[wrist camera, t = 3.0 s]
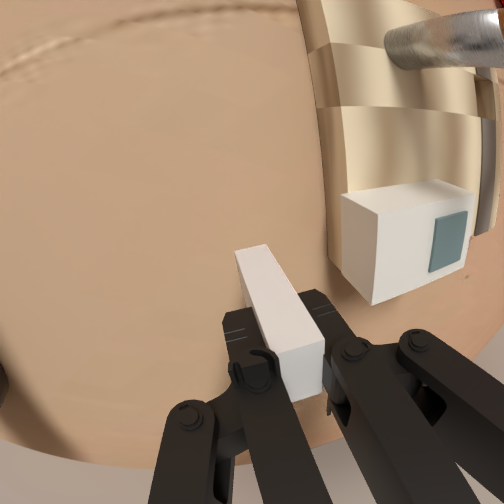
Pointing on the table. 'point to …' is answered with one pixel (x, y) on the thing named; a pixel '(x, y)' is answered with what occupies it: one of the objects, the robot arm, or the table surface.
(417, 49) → the silver and copper cylinder
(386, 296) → the block
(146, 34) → the table surface
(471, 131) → the panel
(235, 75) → the table surface
